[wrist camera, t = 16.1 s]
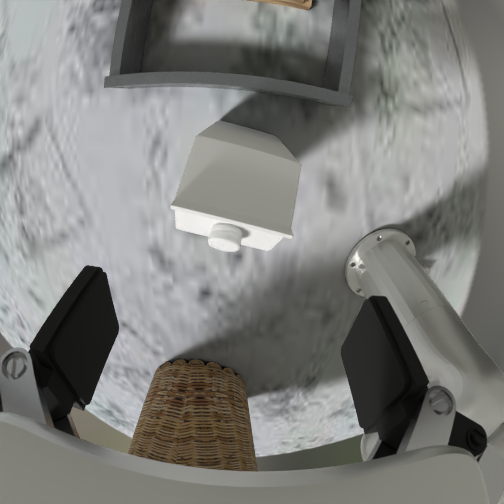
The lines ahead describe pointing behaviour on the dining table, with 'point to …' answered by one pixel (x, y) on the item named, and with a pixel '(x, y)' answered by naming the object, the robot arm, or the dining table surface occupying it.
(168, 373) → the wicker basket
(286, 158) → the milk carton
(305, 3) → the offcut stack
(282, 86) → the dark grey tray
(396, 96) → the dining table surface
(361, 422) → the robot arm
